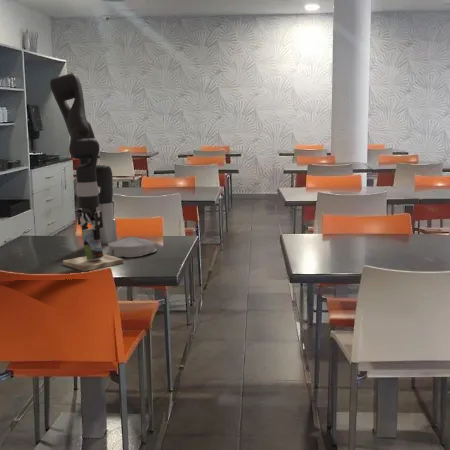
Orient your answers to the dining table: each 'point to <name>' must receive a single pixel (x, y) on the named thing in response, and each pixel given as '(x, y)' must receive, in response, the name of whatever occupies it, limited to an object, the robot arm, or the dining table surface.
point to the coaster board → (92, 262)
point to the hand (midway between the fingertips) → (91, 238)
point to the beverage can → (91, 245)
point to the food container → (131, 247)
